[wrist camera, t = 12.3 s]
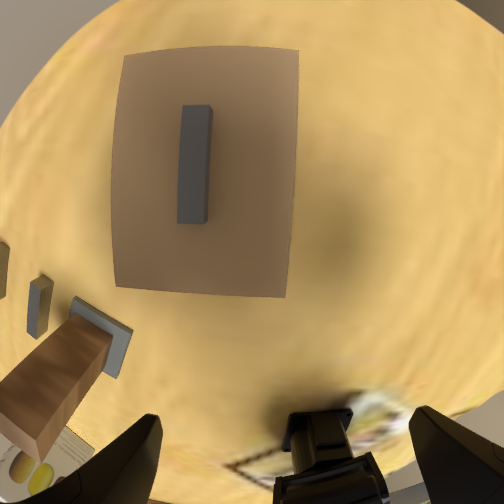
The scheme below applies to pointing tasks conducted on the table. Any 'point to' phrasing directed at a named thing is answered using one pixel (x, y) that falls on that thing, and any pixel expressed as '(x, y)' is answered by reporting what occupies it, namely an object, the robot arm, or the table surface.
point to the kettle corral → (411, 495)
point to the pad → (110, 326)
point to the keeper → (30, 297)
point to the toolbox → (205, 170)
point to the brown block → (51, 385)
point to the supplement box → (41, 467)
